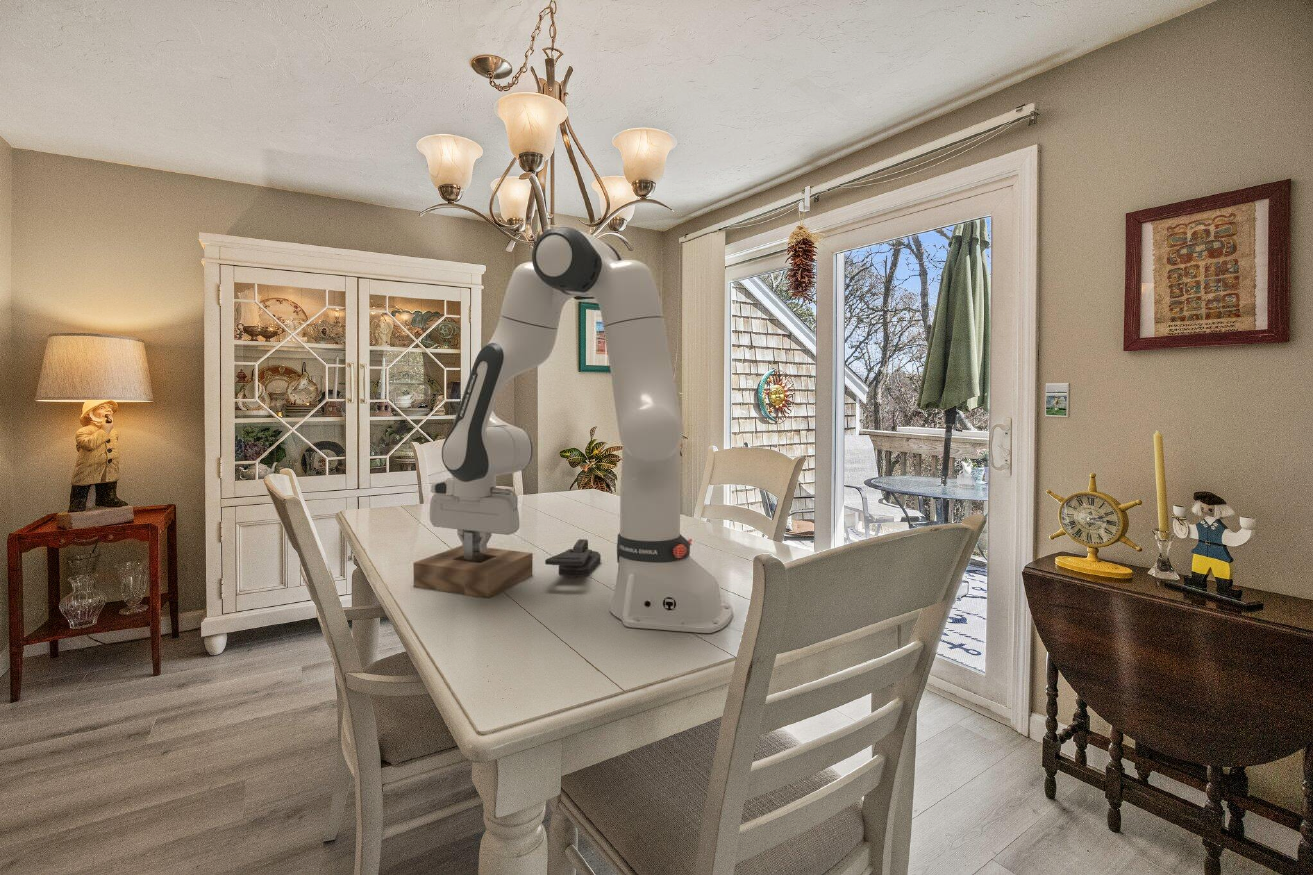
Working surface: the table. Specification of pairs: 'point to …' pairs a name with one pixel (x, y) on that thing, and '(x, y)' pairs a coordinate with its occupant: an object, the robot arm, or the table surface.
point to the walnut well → (473, 572)
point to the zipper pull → (576, 560)
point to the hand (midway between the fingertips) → (474, 551)
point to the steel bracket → (472, 547)
